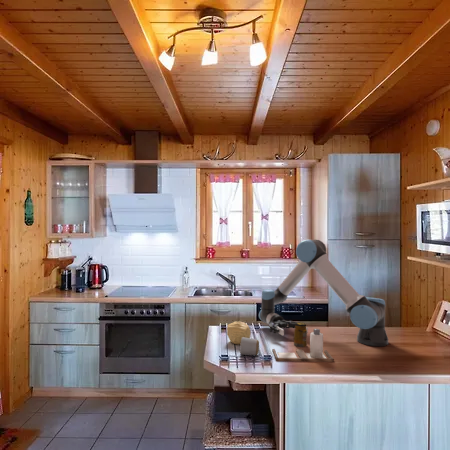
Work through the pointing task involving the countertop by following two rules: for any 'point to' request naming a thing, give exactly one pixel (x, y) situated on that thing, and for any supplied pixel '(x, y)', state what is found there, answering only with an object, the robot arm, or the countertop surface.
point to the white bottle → (316, 344)
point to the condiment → (300, 334)
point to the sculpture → (238, 332)
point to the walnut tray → (301, 356)
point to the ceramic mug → (249, 346)
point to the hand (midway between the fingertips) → (295, 331)
